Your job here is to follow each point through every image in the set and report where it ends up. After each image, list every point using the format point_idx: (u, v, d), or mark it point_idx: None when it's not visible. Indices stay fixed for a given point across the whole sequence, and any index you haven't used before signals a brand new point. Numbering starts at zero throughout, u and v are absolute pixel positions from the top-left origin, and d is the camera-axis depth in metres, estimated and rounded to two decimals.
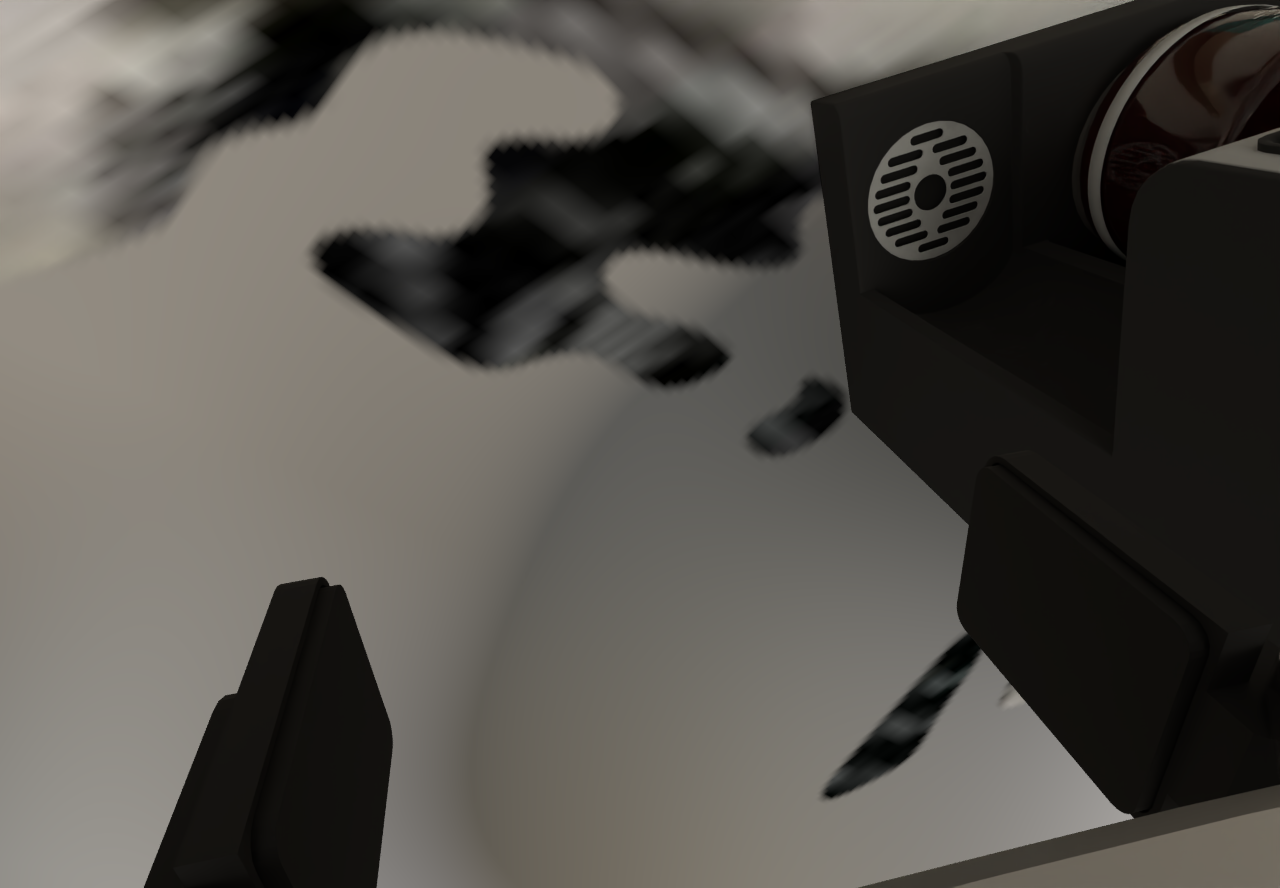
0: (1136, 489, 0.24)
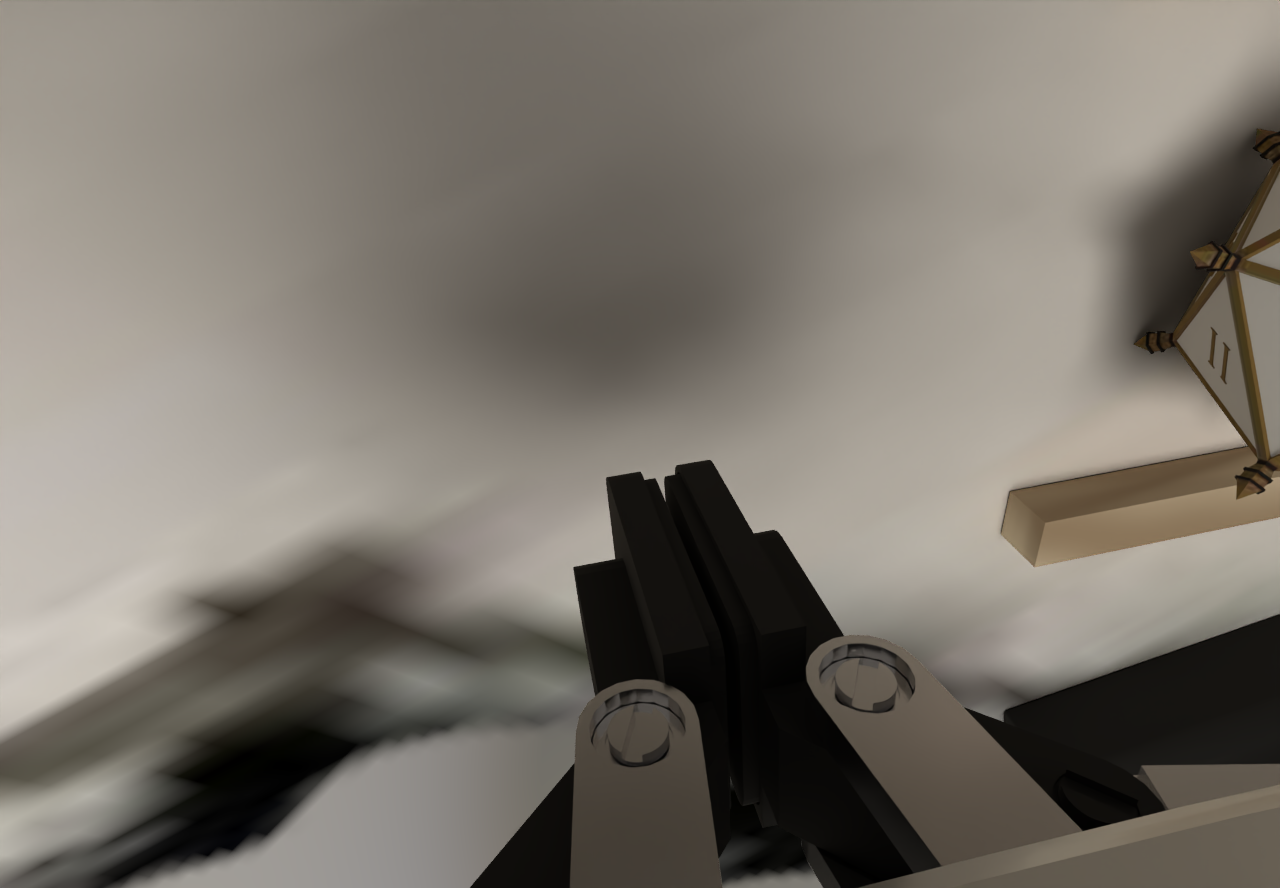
0: None
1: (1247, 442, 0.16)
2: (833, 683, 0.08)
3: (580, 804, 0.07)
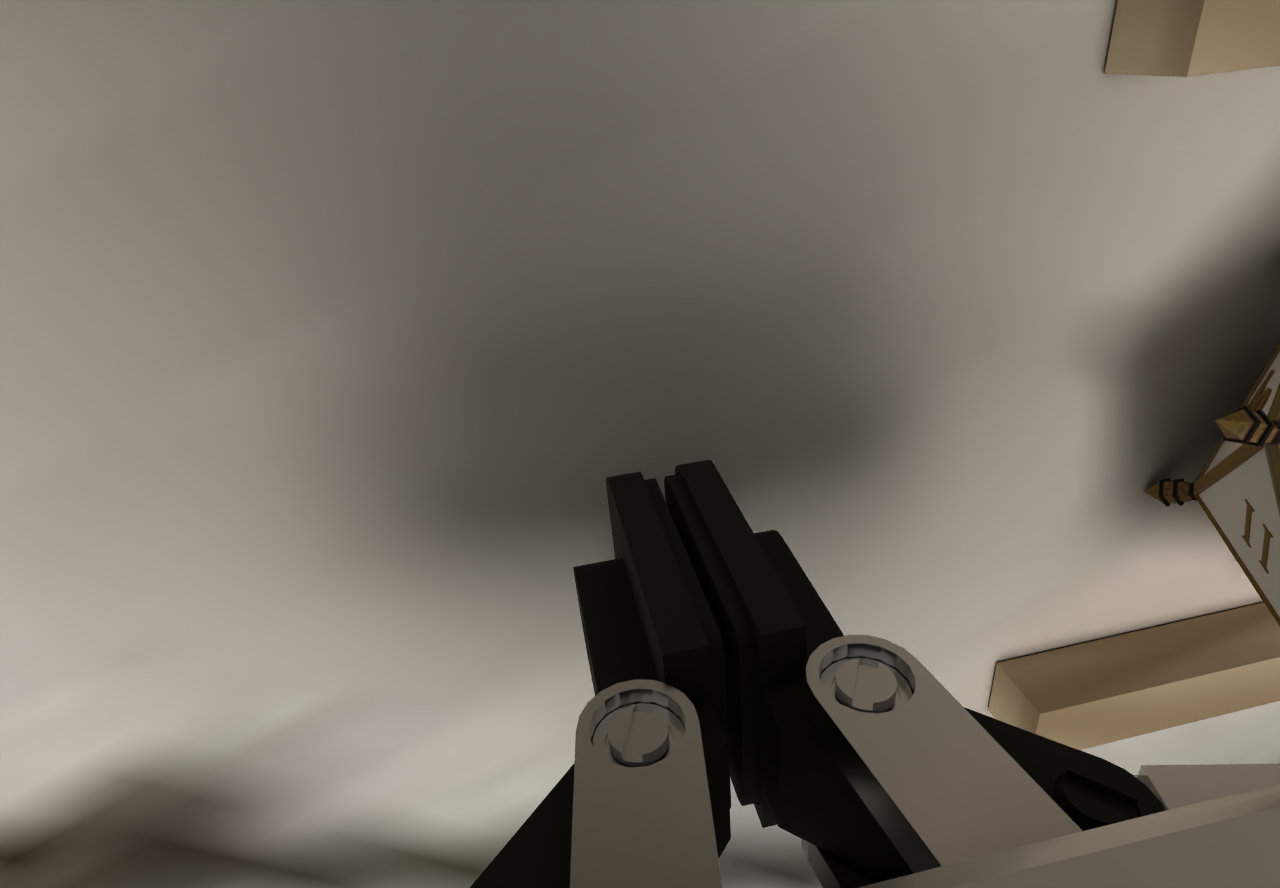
0: None
1: None
2: (833, 683, 0.08)
3: (580, 804, 0.07)
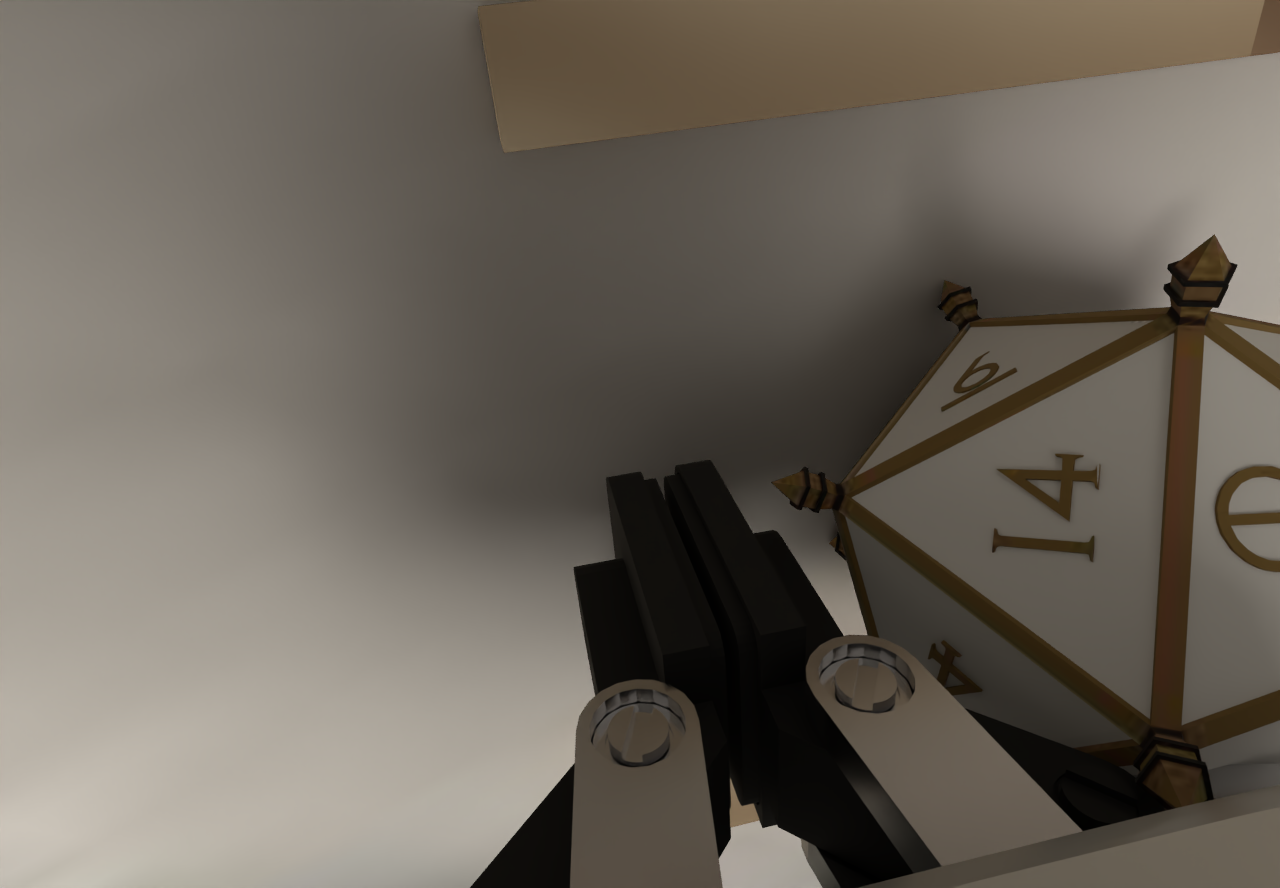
0: None
1: None
2: (833, 683, 0.08)
3: (580, 804, 0.07)
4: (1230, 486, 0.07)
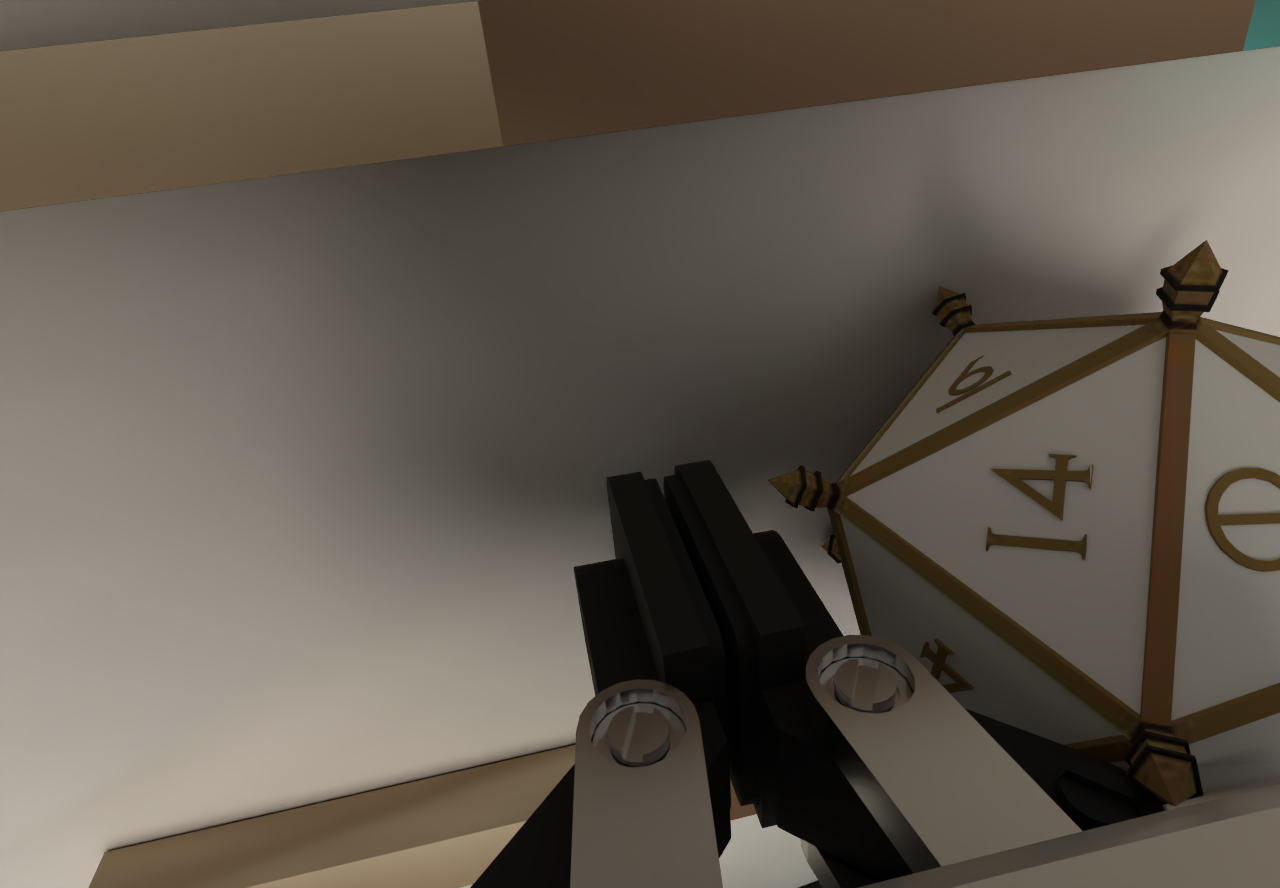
0: None
1: None
2: (833, 683, 0.08)
3: (580, 804, 0.07)
4: (1219, 486, 0.08)
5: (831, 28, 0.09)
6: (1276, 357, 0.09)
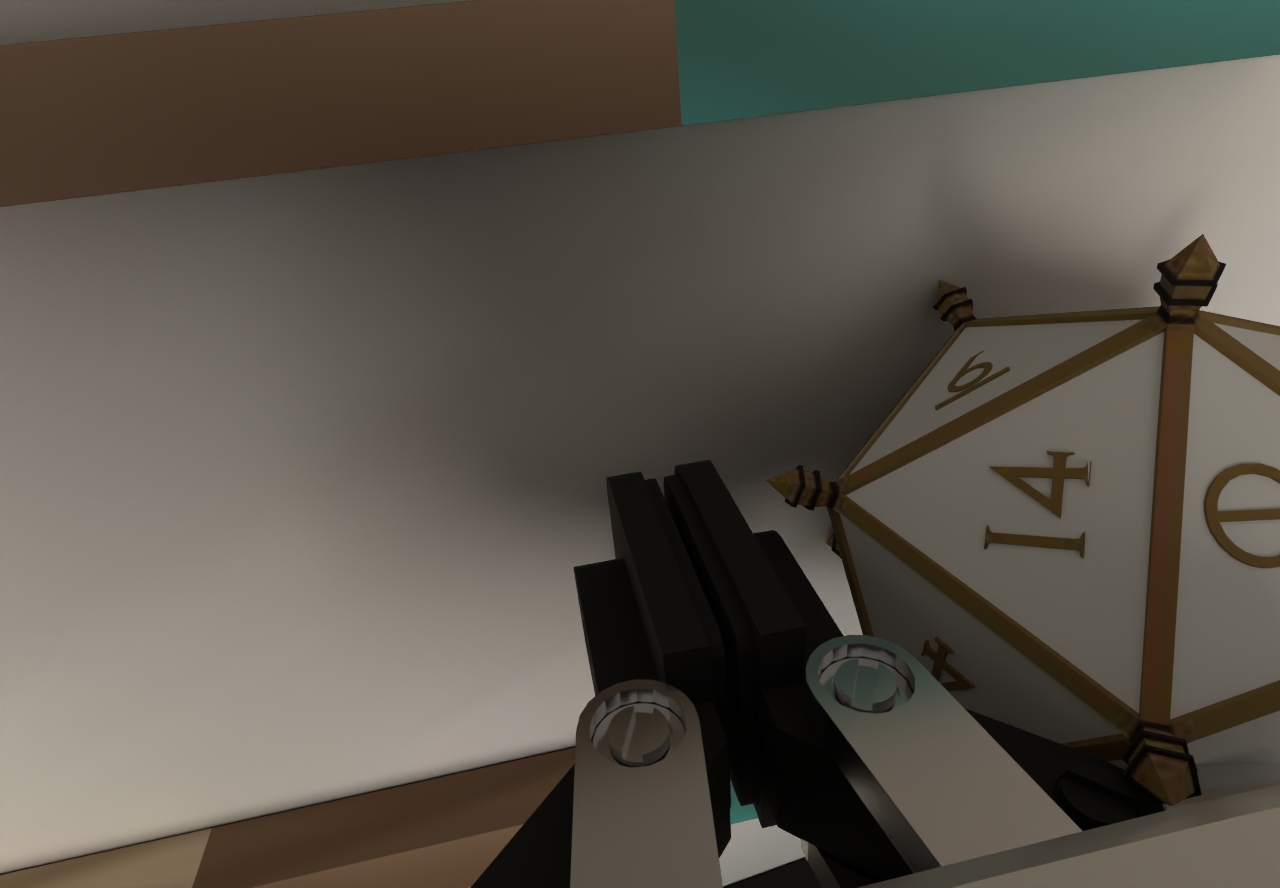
0: None
1: None
2: (833, 683, 0.08)
3: (581, 804, 0.07)
4: (1219, 483, 0.08)
5: (140, 105, 0.08)
6: (1279, 349, 0.09)
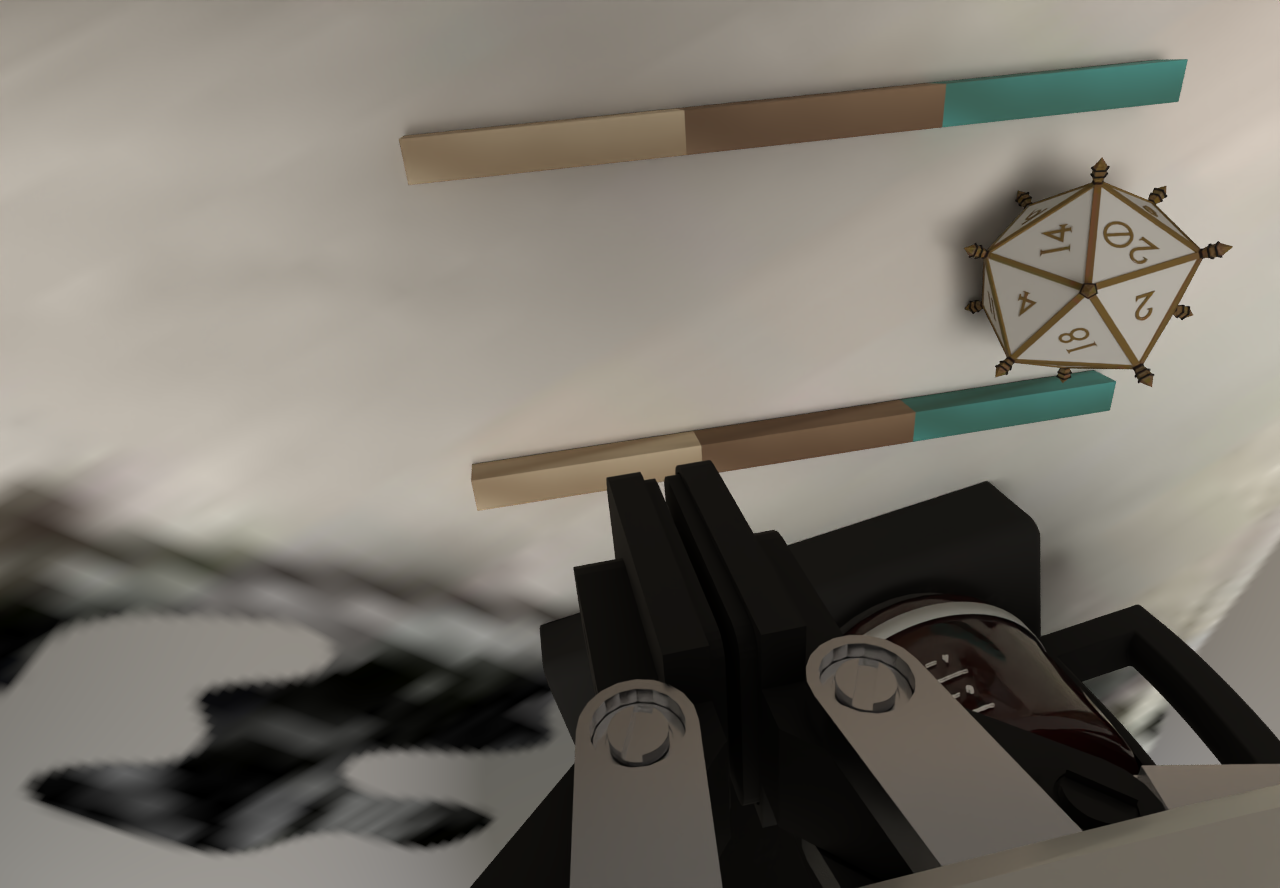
0: None
1: (1004, 350, 0.31)
2: (833, 683, 0.08)
3: (580, 804, 0.07)
4: (1107, 226, 0.27)
5: (794, 118, 0.28)
6: (1133, 198, 0.28)
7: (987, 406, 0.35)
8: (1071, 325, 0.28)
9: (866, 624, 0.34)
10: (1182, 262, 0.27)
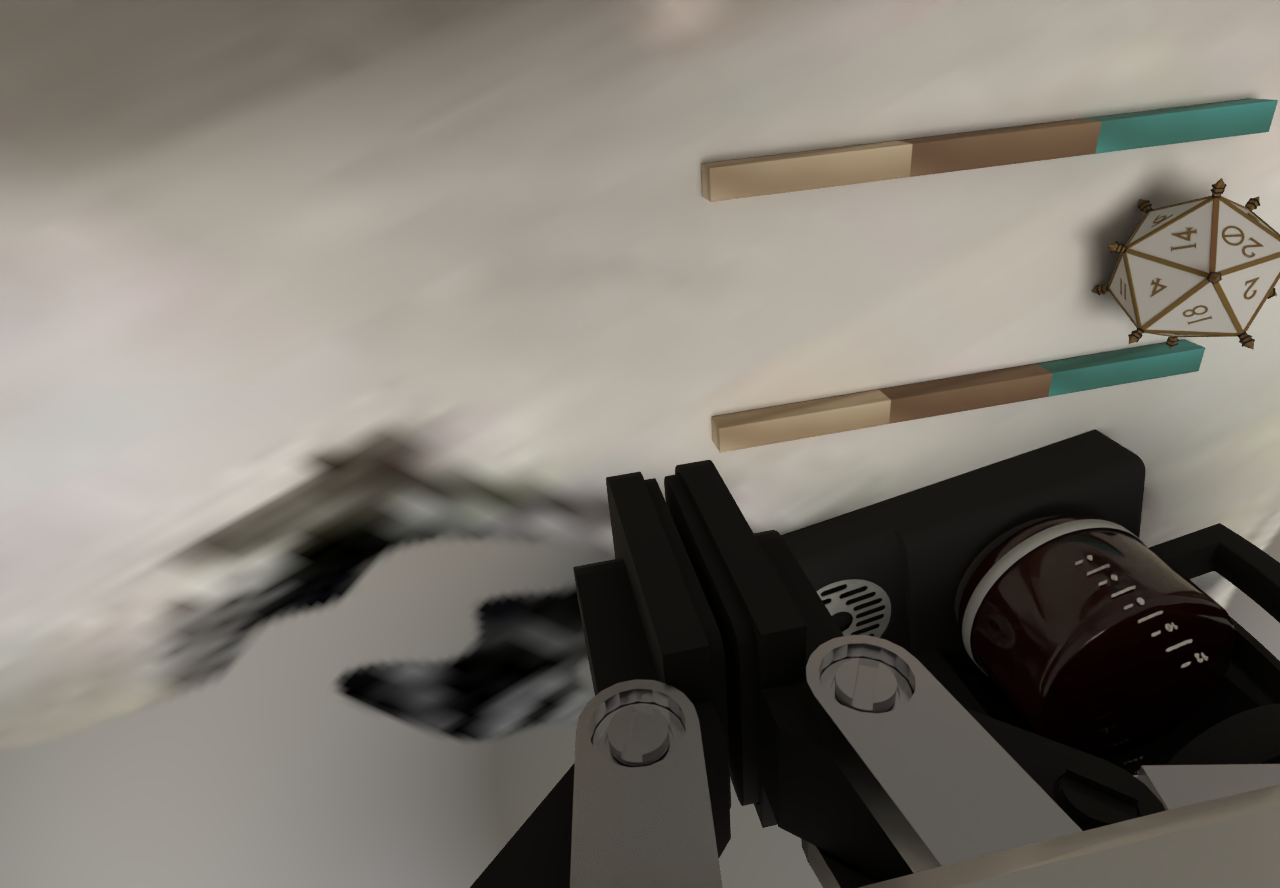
0: None
1: (1134, 323, 0.40)
2: (833, 683, 0.08)
3: (580, 804, 0.07)
4: (1224, 230, 0.36)
5: (989, 149, 0.37)
6: (1239, 207, 0.38)
7: (1106, 368, 0.44)
8: (1194, 303, 0.37)
9: (1016, 538, 0.43)
10: None
